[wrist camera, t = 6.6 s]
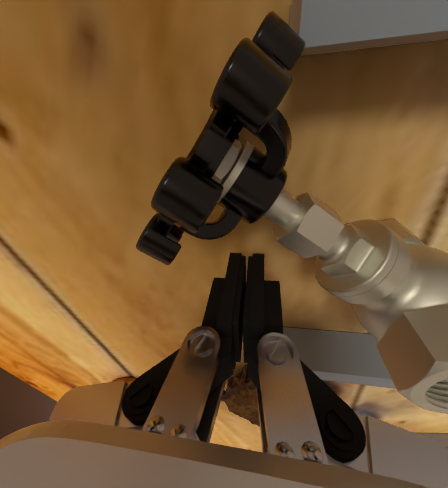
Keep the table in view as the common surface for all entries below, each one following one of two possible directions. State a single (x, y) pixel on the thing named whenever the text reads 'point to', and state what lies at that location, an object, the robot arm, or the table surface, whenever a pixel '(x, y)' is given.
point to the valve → (305, 218)
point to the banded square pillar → (436, 438)
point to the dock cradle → (344, 39)
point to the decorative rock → (242, 397)
